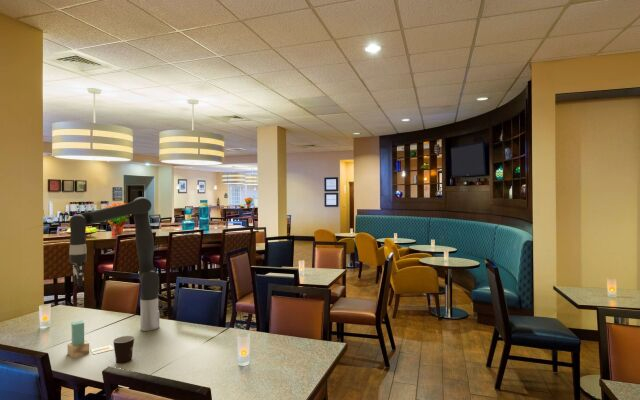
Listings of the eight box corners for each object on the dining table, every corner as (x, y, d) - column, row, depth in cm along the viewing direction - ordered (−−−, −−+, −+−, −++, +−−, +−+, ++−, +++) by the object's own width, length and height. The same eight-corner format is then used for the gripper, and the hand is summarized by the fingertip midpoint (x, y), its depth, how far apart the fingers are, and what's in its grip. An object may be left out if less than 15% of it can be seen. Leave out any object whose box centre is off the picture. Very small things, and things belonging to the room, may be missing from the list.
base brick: (83, 349, 187) (83, 339, 187) (89, 353, 182) (89, 343, 182) (67, 354, 181) (67, 343, 181) (72, 358, 177) (72, 347, 177)
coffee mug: (125, 365, 168) (125, 343, 168) (108, 364, 170) (108, 342, 170) (142, 355, 180) (142, 334, 180) (126, 353, 182) (126, 332, 181)
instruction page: (110, 345, 192) (110, 344, 192) (114, 349, 187) (114, 348, 187) (90, 350, 186) (90, 349, 186) (93, 354, 180) (93, 354, 180)
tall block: (82, 340, 185) (82, 320, 185) (84, 343, 182) (84, 322, 182) (71, 343, 182) (71, 322, 182) (73, 346, 179) (73, 325, 179)
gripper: (89, 253, 193) (89, 285, 194) (83, 250, 204) (83, 280, 204) (72, 255, 188) (72, 287, 188) (67, 252, 199) (67, 282, 199)
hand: (78, 284), depth 196 cm, fingers open, 8 cm apart
